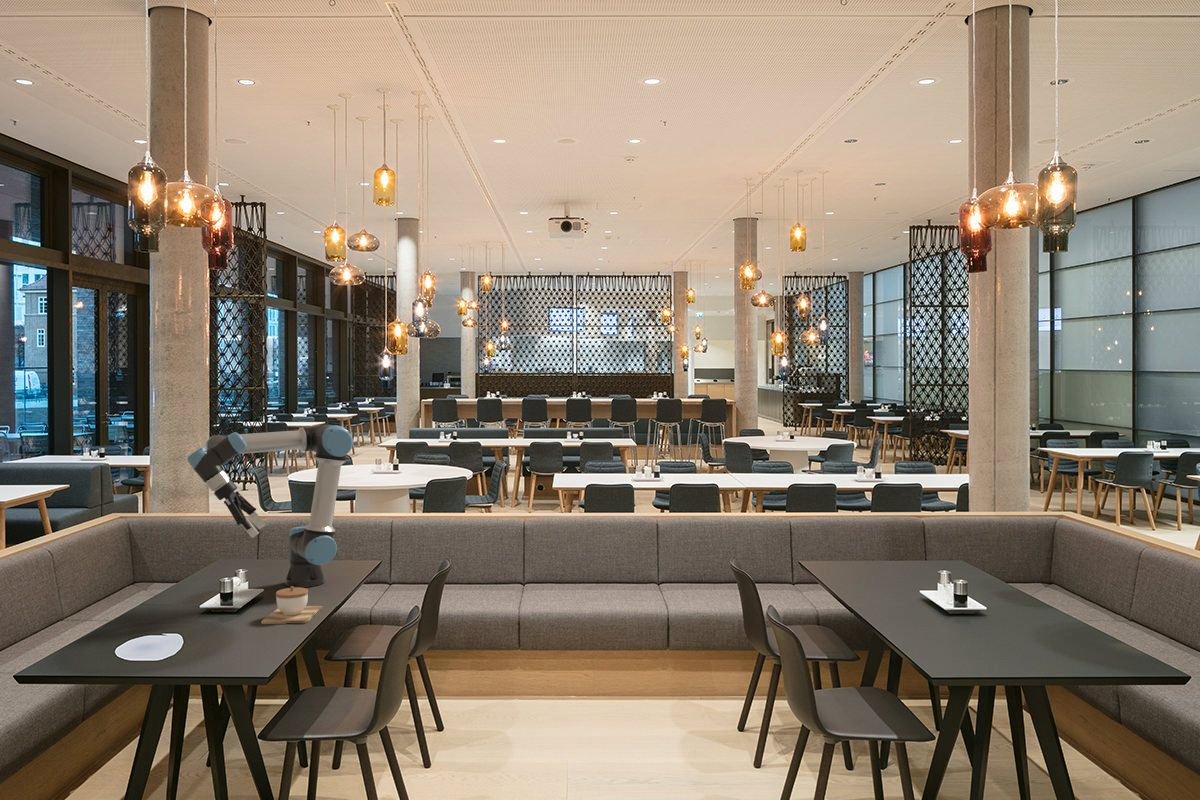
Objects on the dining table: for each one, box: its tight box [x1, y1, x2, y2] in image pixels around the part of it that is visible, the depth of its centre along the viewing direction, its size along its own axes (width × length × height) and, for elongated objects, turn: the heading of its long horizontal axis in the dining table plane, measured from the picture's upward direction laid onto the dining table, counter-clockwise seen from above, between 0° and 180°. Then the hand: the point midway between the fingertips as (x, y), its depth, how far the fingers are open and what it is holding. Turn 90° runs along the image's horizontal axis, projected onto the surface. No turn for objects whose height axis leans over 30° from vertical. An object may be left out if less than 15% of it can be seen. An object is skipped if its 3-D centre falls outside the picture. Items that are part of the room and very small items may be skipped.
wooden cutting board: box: [261, 605, 323, 625], centre depth 305 cm, size 18×15×1 cm
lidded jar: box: [275, 586, 309, 616], centre depth 305 cm, size 11×11×9 cm
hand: (259, 531), depth 319 cm, fingers open, 13 cm apart
